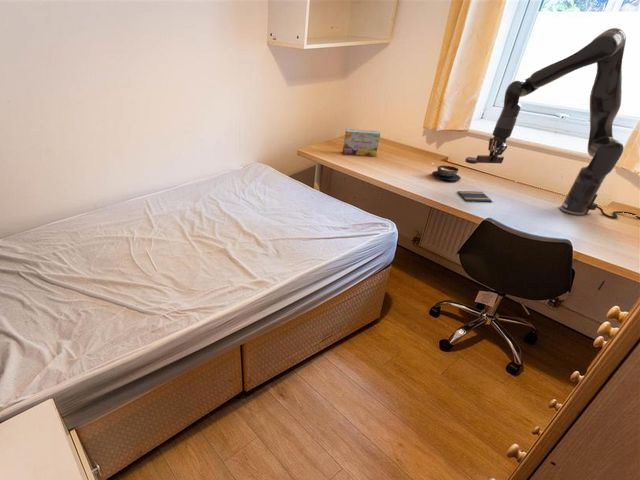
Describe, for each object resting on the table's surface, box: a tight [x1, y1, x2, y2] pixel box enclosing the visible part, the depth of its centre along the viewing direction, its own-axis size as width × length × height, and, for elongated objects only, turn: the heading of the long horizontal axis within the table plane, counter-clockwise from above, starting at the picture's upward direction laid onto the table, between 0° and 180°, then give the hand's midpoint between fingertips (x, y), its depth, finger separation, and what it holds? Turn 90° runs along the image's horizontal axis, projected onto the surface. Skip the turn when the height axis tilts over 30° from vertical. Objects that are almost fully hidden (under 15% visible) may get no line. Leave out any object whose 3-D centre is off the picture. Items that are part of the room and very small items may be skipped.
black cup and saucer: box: [431, 162, 462, 181], centre depth 211 cm, size 15×16×7 cm
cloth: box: [456, 190, 493, 203], centre depth 190 cm, size 12×11×1 cm
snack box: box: [342, 128, 381, 158], centre depth 243 cm, size 21×6×15 cm, turn 75°
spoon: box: [464, 154, 505, 165], centre depth 191 cm, size 17×6×3 cm, turn 86°
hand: (491, 161), depth 191 cm, fingers closed on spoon, 2 cm apart
